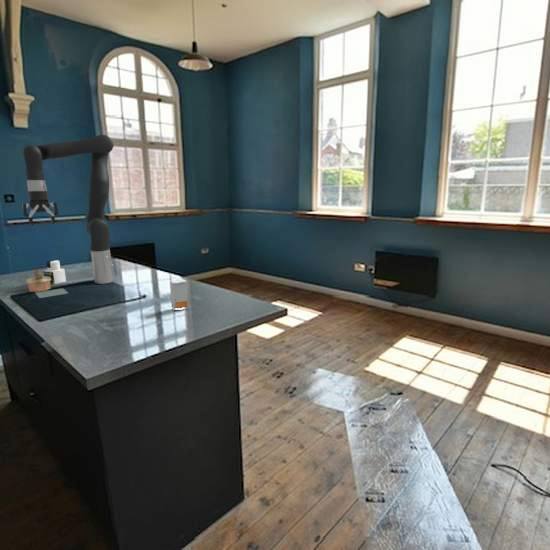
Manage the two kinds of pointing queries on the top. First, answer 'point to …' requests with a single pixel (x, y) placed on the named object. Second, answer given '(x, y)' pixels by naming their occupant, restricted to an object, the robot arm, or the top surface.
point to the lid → (38, 278)
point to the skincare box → (179, 293)
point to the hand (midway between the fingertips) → (42, 224)
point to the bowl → (39, 287)
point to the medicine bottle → (55, 272)
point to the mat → (51, 293)
